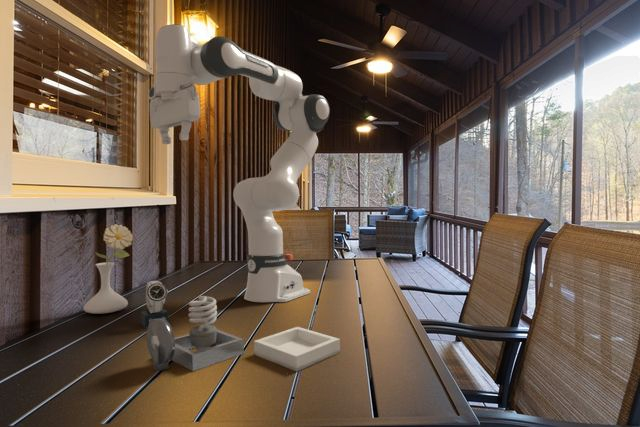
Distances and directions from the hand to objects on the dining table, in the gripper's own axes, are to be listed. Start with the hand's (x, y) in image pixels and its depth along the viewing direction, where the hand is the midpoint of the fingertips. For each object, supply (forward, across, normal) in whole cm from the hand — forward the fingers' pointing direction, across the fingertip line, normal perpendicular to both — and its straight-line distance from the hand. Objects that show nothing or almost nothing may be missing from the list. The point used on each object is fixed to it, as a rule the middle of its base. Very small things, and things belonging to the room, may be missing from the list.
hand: (175, 142), depth 106 cm
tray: (+47, -41, -4) cm, 62 cm away
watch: (+47, +1, +6) cm, 47 cm away
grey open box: (+47, -27, +11) cm, 55 cm away
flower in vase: (+47, +23, +9) cm, 53 cm away
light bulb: (+47, -27, +9) cm, 55 cm away
